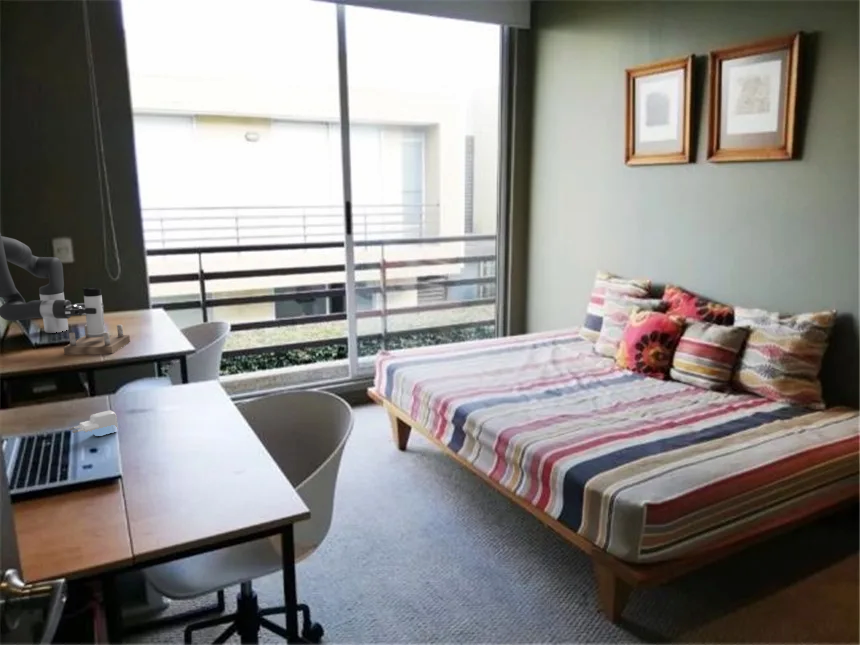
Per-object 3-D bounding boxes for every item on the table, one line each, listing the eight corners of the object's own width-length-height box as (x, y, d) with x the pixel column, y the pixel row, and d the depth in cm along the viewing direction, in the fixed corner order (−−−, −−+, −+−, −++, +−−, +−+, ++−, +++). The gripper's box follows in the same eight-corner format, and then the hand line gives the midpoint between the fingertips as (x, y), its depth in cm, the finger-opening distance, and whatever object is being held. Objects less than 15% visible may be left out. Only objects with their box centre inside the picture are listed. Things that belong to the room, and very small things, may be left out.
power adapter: (75, 445, 161) (72, 424, 160) (69, 440, 164) (66, 419, 163) (120, 433, 169) (117, 412, 167) (113, 428, 172) (110, 408, 171)
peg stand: (64, 354, 242) (62, 334, 241) (85, 342, 260) (83, 324, 258) (112, 353, 244) (110, 334, 242) (130, 342, 261) (128, 323, 259)
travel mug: (83, 336, 249) (78, 287, 244) (99, 333, 255) (94, 285, 250) (93, 338, 246) (88, 289, 242) (108, 335, 252) (104, 286, 247)
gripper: (45, 303, 239) (90, 303, 240) (64, 296, 253) (106, 296, 254) (48, 322, 241) (92, 322, 242) (66, 314, 255) (108, 314, 256)
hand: (99, 309), depth 248 cm, fingers closed on travel mug, 6 cm apart
